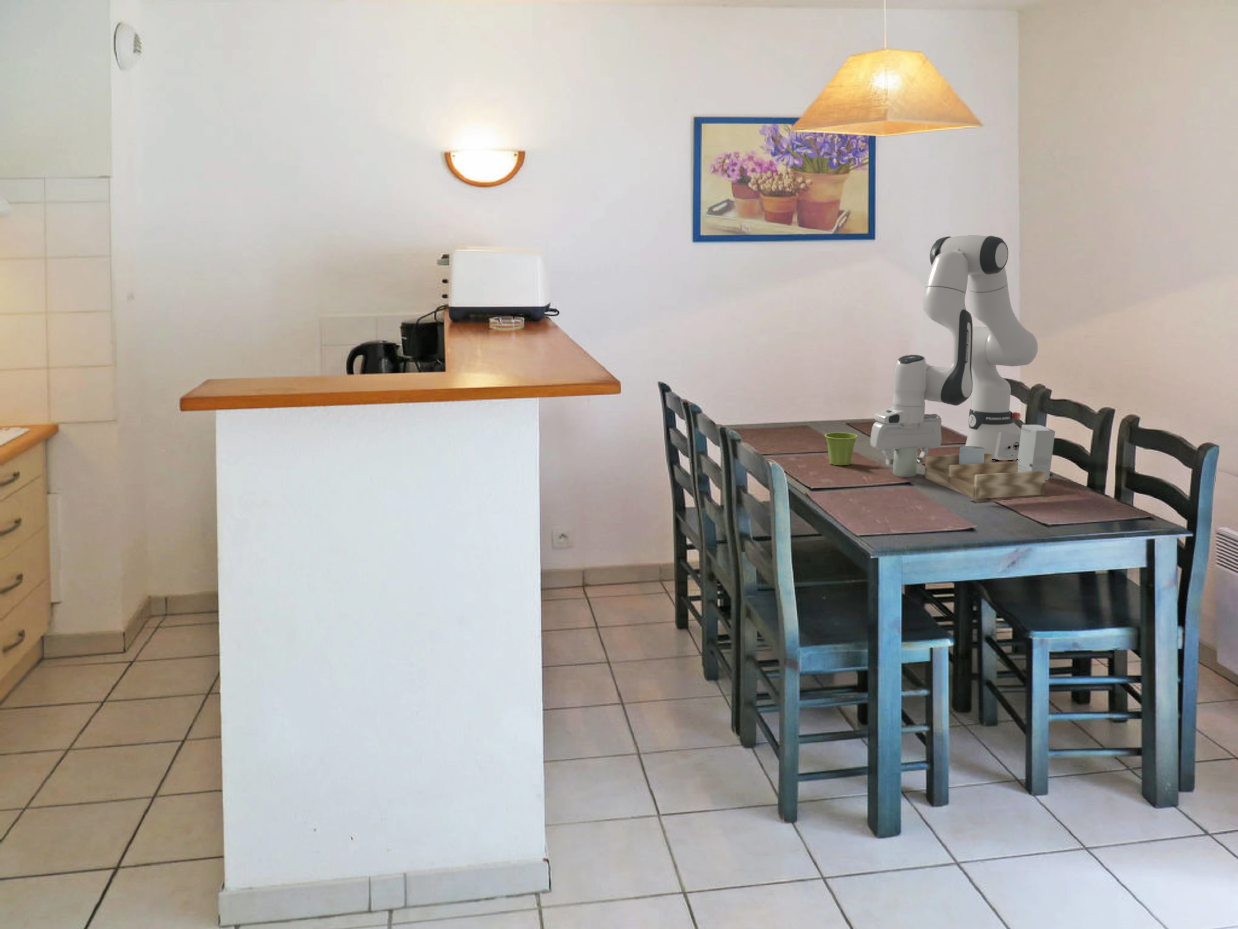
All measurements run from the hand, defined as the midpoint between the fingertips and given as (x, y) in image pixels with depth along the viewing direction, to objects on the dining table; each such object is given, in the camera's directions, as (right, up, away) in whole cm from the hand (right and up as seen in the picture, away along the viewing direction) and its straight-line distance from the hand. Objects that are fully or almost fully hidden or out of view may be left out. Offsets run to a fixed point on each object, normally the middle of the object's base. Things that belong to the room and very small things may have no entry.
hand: (904, 464), depth 309 cm
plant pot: (-14, 0, +20) cm, 24 cm away
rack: (+17, -7, -13) cm, 23 cm away
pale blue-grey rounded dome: (+16, -5, -7) cm, 18 cm away
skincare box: (+36, -5, 0) cm, 36 cm away
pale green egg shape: (0, -4, +1) cm, 4 cm away
